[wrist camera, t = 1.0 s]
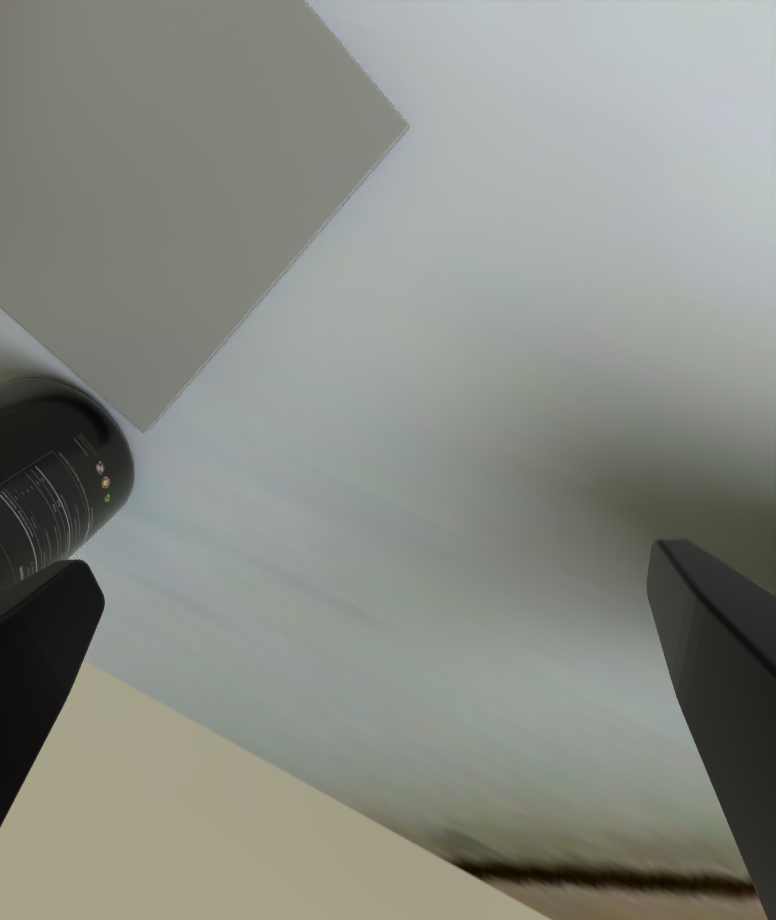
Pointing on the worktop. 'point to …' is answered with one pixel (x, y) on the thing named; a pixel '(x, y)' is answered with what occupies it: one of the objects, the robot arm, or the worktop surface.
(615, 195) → the worktop surface
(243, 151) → the shelf board
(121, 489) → the supplement bottle
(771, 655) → the robot arm
